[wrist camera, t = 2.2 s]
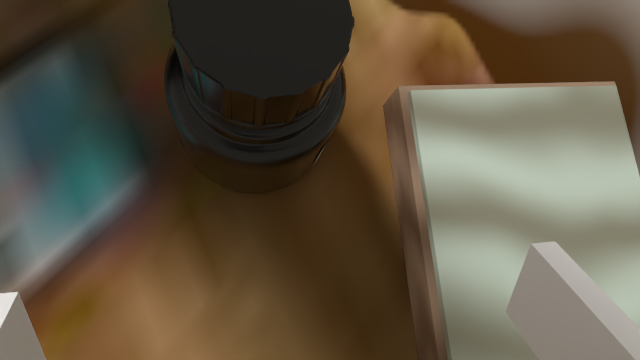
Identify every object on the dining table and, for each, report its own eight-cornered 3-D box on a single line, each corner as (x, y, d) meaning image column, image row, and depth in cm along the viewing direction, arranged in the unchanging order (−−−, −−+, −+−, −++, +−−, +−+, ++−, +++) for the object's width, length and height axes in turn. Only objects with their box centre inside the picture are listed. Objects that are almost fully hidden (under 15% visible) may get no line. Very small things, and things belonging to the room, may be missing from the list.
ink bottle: (352, 163, 29) (427, 80, 17) (222, 226, 26) (209, 179, 15) (282, 34, 30) (308, -123, 18) (152, 84, 28) (91, -61, 16)
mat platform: (383, 105, 30) (401, 82, 27) (581, 99, 33) (620, 78, 29) (423, 399, 26) (450, 415, 23) (645, 364, 29) (698, 373, 26)
